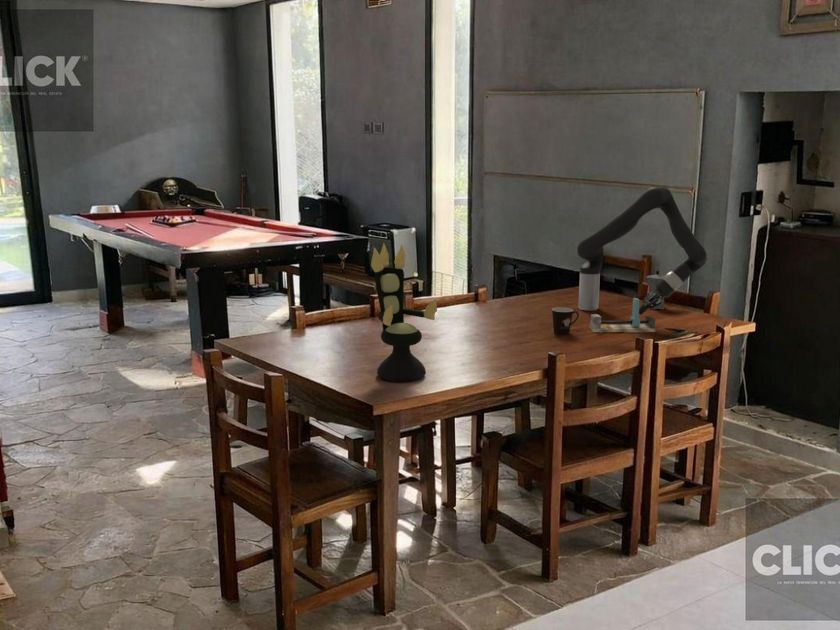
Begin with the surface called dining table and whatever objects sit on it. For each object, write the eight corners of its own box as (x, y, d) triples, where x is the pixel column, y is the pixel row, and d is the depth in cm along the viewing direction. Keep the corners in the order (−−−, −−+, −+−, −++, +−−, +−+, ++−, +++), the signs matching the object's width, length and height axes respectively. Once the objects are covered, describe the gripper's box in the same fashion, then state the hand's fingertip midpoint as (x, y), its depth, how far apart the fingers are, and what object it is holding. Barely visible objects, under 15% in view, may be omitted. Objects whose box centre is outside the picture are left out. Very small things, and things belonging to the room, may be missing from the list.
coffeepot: (645, 310, 397) (648, 272, 393) (638, 306, 406) (640, 269, 402) (677, 309, 399) (679, 272, 395) (668, 305, 408) (671, 268, 404)
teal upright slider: (636, 324, 360) (638, 297, 357) (639, 326, 356) (641, 299, 353) (629, 324, 359) (631, 297, 357) (632, 326, 356) (634, 299, 353)
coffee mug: (552, 335, 348) (553, 311, 346) (550, 330, 356) (550, 307, 354) (580, 335, 348) (582, 312, 346) (577, 331, 356) (578, 307, 354)
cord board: (648, 327, 363) (649, 312, 361) (655, 332, 355) (656, 316, 353) (589, 328, 361) (589, 313, 359) (594, 332, 353) (595, 317, 351)
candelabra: (391, 387, 278) (390, 251, 268) (357, 371, 296) (355, 243, 286) (437, 378, 288) (439, 247, 279) (402, 363, 306) (402, 239, 297)
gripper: (657, 275, 361) (627, 303, 362) (668, 281, 348) (637, 310, 349) (668, 287, 362) (639, 315, 364) (680, 293, 349) (649, 322, 351)
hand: (638, 313), depth 357 cm, fingers closed
